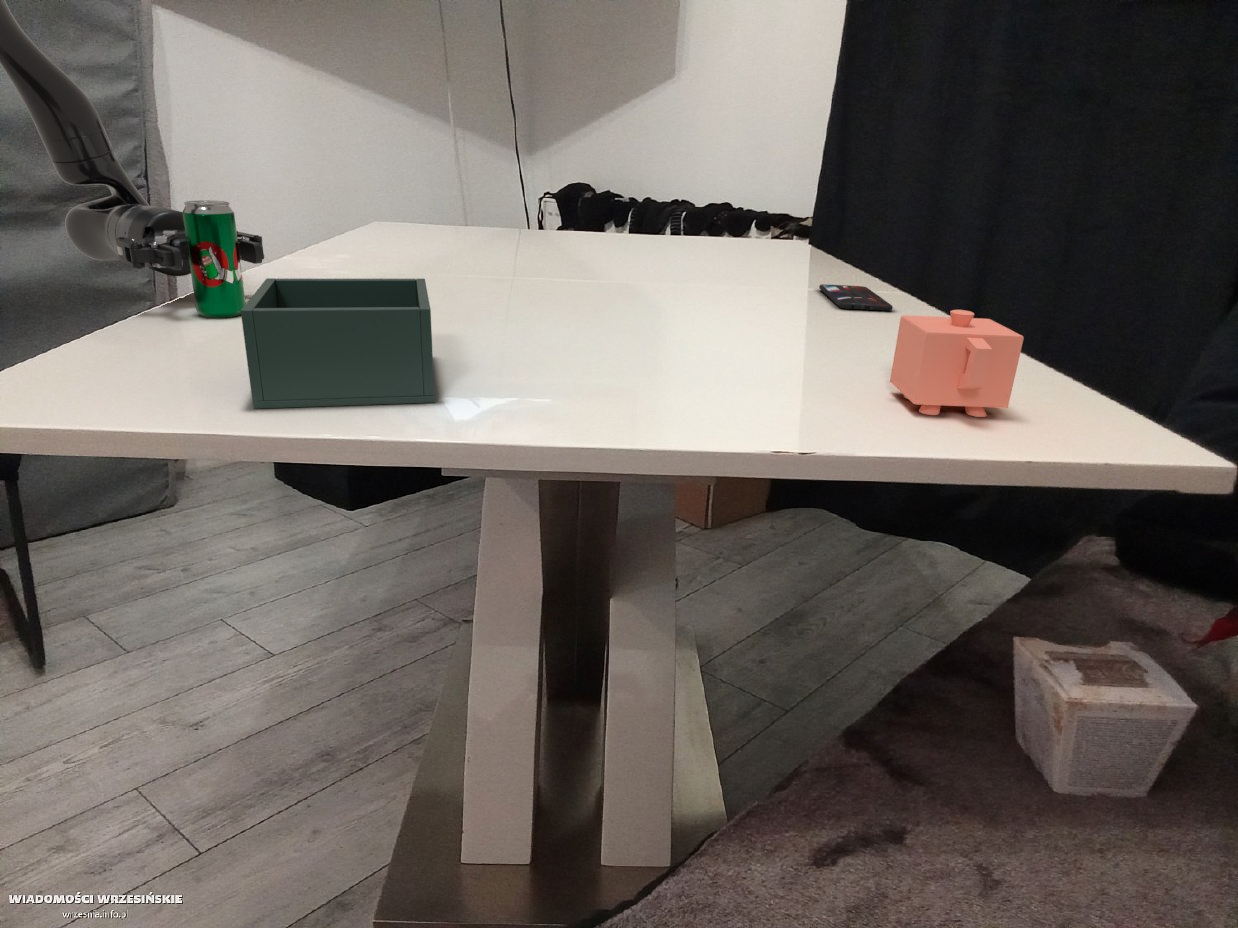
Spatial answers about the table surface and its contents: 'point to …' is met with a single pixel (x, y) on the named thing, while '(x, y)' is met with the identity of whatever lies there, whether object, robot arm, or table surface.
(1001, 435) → the table surface
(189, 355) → the table surface
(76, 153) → the robot arm
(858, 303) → the smartphone
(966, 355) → the pink cube teapot
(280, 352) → the bin
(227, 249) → the soda can
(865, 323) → the table surface
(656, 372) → the table surface
